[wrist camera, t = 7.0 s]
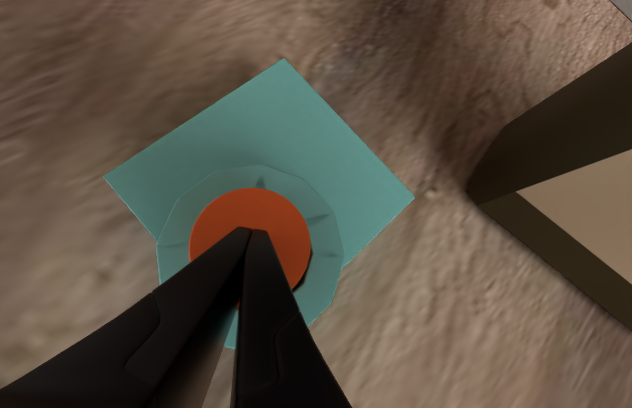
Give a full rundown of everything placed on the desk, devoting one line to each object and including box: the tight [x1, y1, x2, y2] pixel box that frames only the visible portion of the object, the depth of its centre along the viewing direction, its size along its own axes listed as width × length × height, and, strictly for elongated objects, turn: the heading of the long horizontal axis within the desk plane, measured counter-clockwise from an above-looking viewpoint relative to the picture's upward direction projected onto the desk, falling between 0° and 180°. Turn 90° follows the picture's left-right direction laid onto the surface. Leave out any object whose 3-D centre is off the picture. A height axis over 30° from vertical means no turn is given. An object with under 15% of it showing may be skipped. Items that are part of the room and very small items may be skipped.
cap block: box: [103, 58, 415, 349], centre depth 15 cm, size 11×10×6 cm
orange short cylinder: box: [189, 188, 311, 307], centre depth 10 cm, size 4×4×3 cm
